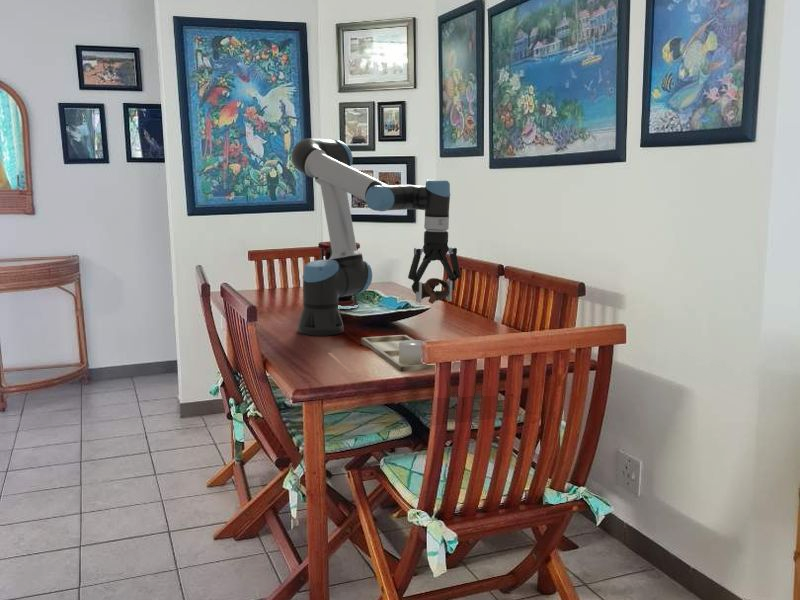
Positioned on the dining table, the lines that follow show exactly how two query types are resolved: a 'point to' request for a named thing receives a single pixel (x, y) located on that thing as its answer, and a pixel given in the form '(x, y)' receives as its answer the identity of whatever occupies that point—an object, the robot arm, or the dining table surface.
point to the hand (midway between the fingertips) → (433, 301)
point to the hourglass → (327, 247)
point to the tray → (392, 351)
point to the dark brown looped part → (429, 290)
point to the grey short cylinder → (410, 352)
